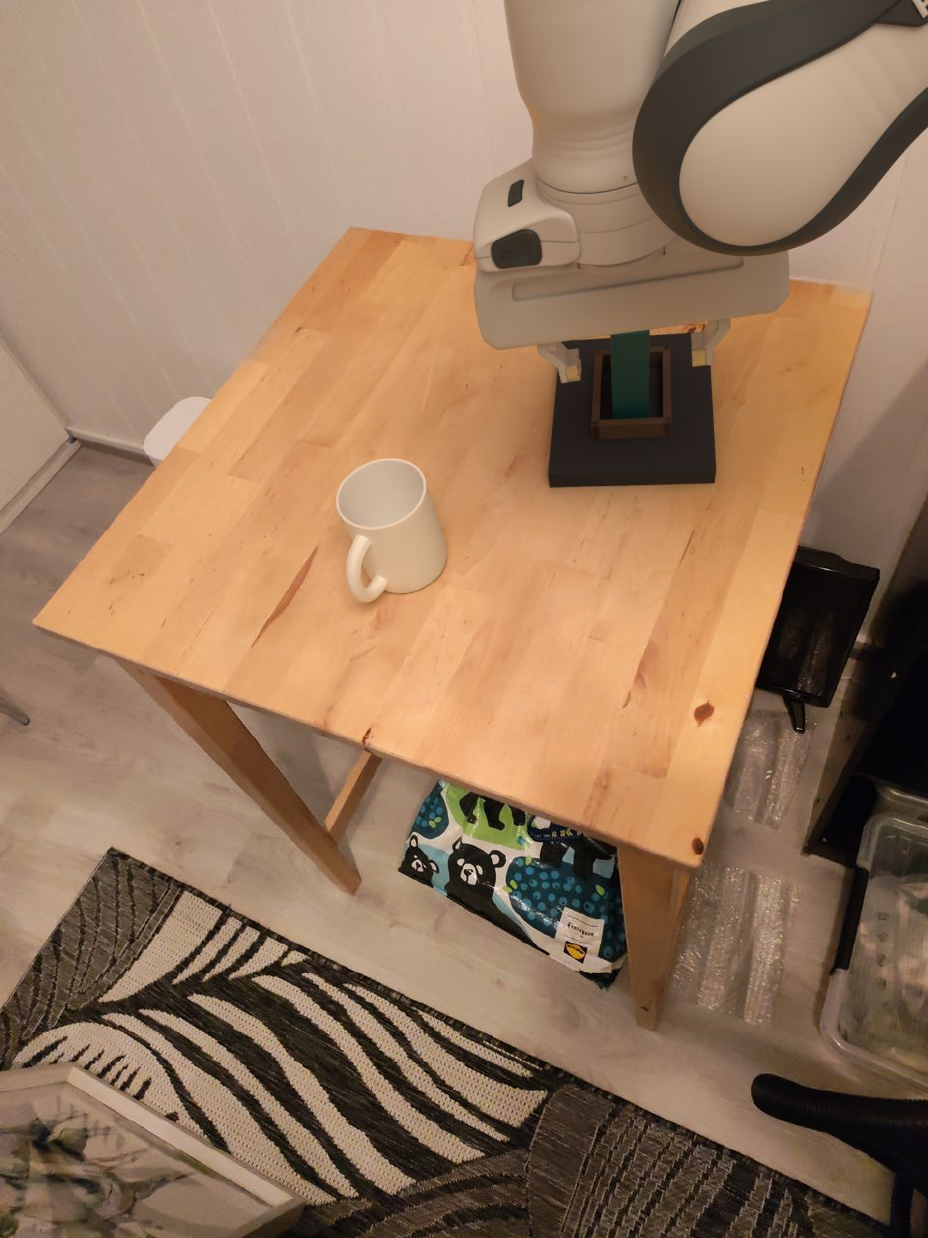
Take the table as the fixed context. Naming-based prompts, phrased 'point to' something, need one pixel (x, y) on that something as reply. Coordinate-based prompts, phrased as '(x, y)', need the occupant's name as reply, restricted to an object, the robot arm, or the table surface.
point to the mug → (390, 529)
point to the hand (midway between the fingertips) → (635, 368)
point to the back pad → (630, 374)
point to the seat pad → (634, 421)
